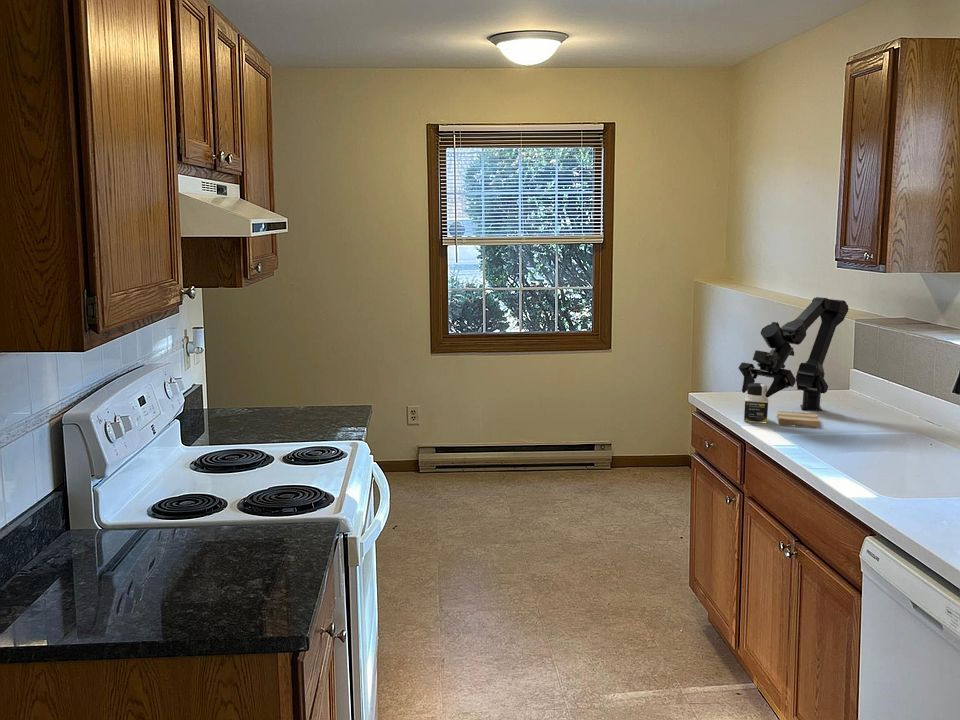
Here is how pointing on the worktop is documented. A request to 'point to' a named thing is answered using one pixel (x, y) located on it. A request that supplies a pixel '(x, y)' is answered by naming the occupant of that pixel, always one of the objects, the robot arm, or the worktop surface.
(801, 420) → the tan flat square slab
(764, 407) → the medicine bottle
